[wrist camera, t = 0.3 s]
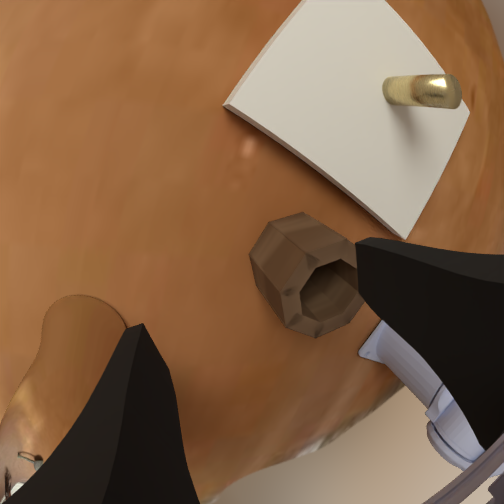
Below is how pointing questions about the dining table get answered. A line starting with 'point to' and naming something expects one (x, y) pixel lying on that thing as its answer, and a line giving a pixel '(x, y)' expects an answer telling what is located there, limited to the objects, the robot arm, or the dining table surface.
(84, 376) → the beer glass
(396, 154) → the white rectangular board
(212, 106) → the dining table surface
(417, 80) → the brass rod
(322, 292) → the walnut bead
